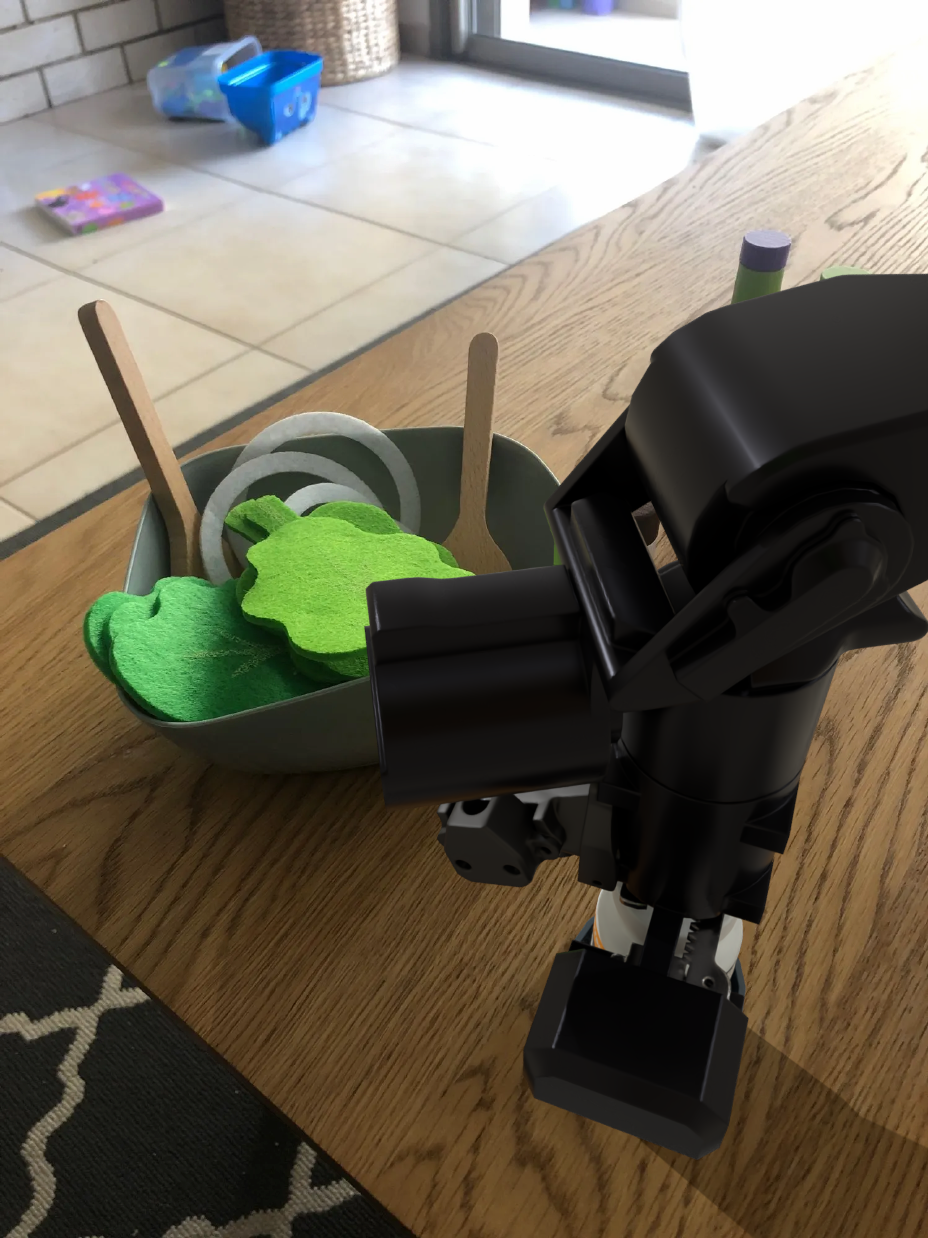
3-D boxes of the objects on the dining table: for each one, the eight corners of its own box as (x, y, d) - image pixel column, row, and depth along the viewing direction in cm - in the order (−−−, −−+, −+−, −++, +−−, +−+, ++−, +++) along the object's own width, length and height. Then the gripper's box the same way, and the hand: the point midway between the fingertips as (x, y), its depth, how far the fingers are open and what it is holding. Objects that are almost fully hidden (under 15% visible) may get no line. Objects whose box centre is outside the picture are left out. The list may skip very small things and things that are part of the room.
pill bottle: (557, 990, 44) (566, 866, 37) (650, 916, 46) (675, 787, 40) (650, 1096, 41) (679, 982, 34) (745, 1010, 43) (790, 888, 36)
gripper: (552, 500, 39) (543, 751, 50) (342, 903, 27) (390, 1121, 38) (848, 560, 36) (770, 814, 47) (765, 1048, 24) (685, 1240, 35)
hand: (659, 970), depth 42 cm, fingers closed on pill bottle, 6 cm apart
